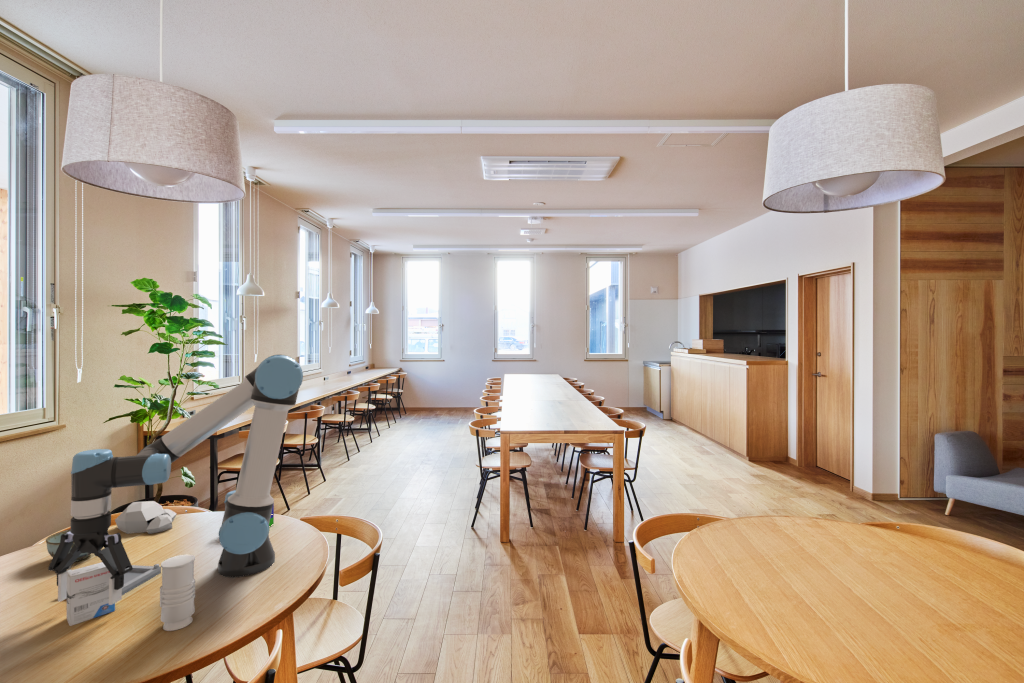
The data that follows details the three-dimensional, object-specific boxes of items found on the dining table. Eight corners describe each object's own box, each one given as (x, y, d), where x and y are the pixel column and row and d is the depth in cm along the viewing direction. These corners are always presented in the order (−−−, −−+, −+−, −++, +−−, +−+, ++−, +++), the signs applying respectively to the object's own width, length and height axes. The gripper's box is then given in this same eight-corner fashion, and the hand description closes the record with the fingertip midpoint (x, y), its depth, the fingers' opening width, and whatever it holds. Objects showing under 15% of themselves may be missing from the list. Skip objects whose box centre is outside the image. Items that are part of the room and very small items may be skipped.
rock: (175, 515, 187) (175, 490, 187) (180, 531, 171) (180, 504, 171) (114, 526, 176) (115, 500, 176) (114, 544, 160) (114, 515, 160)
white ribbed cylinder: (157, 623, 115) (157, 560, 115) (191, 611, 120) (191, 551, 120) (162, 635, 110) (162, 570, 110) (198, 623, 115) (198, 560, 115)
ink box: (110, 604, 123) (110, 558, 123) (115, 611, 120) (115, 564, 120) (65, 619, 116) (65, 570, 116) (69, 627, 113) (69, 577, 113)
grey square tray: (160, 573, 140) (160, 563, 140) (113, 600, 125) (113, 590, 125) (113, 571, 141) (113, 561, 141) (61, 597, 126) (61, 587, 126)
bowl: (32, 567, 143) (33, 540, 143) (82, 548, 156) (82, 524, 157) (67, 572, 140) (67, 545, 140) (115, 552, 153) (115, 527, 153)
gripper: (150, 510, 121) (149, 595, 121) (61, 506, 123) (59, 589, 123) (124, 521, 113) (122, 611, 113) (29, 516, 116) (27, 605, 116)
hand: (89, 600), depth 118 cm, fingers open, 13 cm apart
